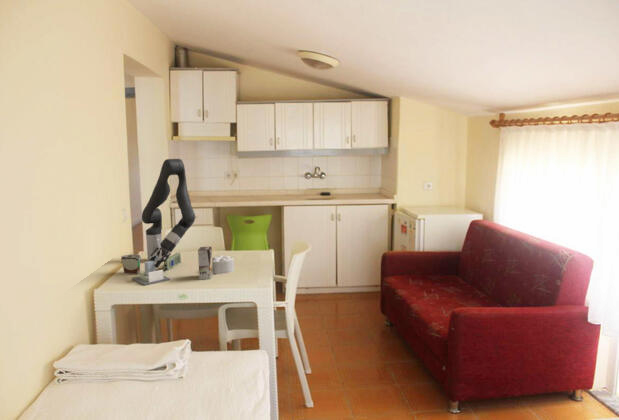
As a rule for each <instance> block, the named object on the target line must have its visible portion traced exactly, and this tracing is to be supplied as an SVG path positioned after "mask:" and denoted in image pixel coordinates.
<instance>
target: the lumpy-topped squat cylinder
mask: <svg viewBox="0 0 619 420" xmlns="http://www.w3.org/2000/svg"><path fill="white" fill-rule="evenodd" d="M212 268H213V275H221V274H229V273H233V272H234V271H235V259H234V257H232V256H229V255H222V254H221V255H218V256H212Z"/></svg>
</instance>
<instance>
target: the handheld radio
mask: <svg viewBox="0 0 619 420" xmlns="http://www.w3.org/2000/svg"><path fill="white" fill-rule="evenodd" d="M181 263H182V257H181V252H175V253H174V254H172V255H170V256H169V257H168V259H167V260H166V262H163V267H164V268H163V269H162V270H163V273H164V272H166V271H170V270H172V269H174V267H177V266H178V265H179V264H181Z"/></svg>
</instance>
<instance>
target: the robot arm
mask: <svg viewBox="0 0 619 420" xmlns="http://www.w3.org/2000/svg"><path fill="white" fill-rule="evenodd" d="M185 168H186V167H185V164H184V161H183V160H182V159H180V158H168V159H165V160H164V161H163V163H162V165H161V169H160V172H159V176H158V179H157V181H156V184H155V185H154V188H153V190H152V194H151V196H150V197H149V200H148V202H147V203H146V205H145V206H144V208H143V211H142V213H141V221H142V222H143V223H144V224H146V225H151V226H150V227H148V228H147V229H145V237H146V239H145V241H146V253H147V261H154V262H155V265H154V266H155V268H156V269H157V268H159V267H160V265H161V264H162V263H163V264H164V262H166V260H167V259H168V257H170V256H172V255H171V254H172V253H173V251H174V250H175V248H176V247H177V245H178V244H179V243H180V242H181V239H182V238H183V237H184V235H185V234H186V233H187V231H188V230H189V229H190V228H191V226H192V225H193V224H195V223H194V222H195V220H196V214H195V211H194V209H193V206H192V204H191V203H192V202H191V198H190V195H189V191H188V187H187V186H188V183H187V176H186V169H185ZM170 176H177V178H178V183H177V184H178V185H177V188H176V191H175V192H176V193H175V198H176V201H177V204H178V208H179V209H180V214H181V218H180V220H179V221H178V222H177V224H175V225H173V227H172V228H171V230H170V231H169V232H168V233H167V234H166V235H165V237H164V238H163V239H162V229H163V224H162V223H163V222H162V221H163V218H162V211H161V209H160V208H159V207H160V206H162V205H163V204H164V203H165V202H166V201H167V200H168V197H169V195H170V194H171V186H170V184H169V178H170Z"/></svg>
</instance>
